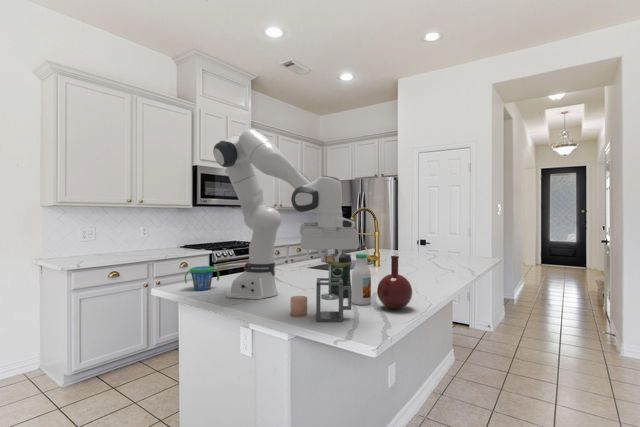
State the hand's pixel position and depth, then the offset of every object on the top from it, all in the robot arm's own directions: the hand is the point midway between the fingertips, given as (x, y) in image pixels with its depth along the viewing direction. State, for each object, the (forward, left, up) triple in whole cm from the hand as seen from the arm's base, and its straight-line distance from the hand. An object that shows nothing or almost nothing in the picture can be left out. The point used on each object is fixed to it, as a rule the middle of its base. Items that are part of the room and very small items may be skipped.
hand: (329, 262), depth 125 cm
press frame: (+1, 0, -19) cm, 19 cm away
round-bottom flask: (+25, +13, -20) cm, 34 cm away
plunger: (0, 0, -12) cm, 12 cm away
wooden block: (-11, +4, -20) cm, 23 cm away
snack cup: (-60, +44, -20) cm, 77 cm away
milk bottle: (+13, +21, -20) cm, 32 cm away
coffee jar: (+5, +34, -20) cm, 40 cm away
